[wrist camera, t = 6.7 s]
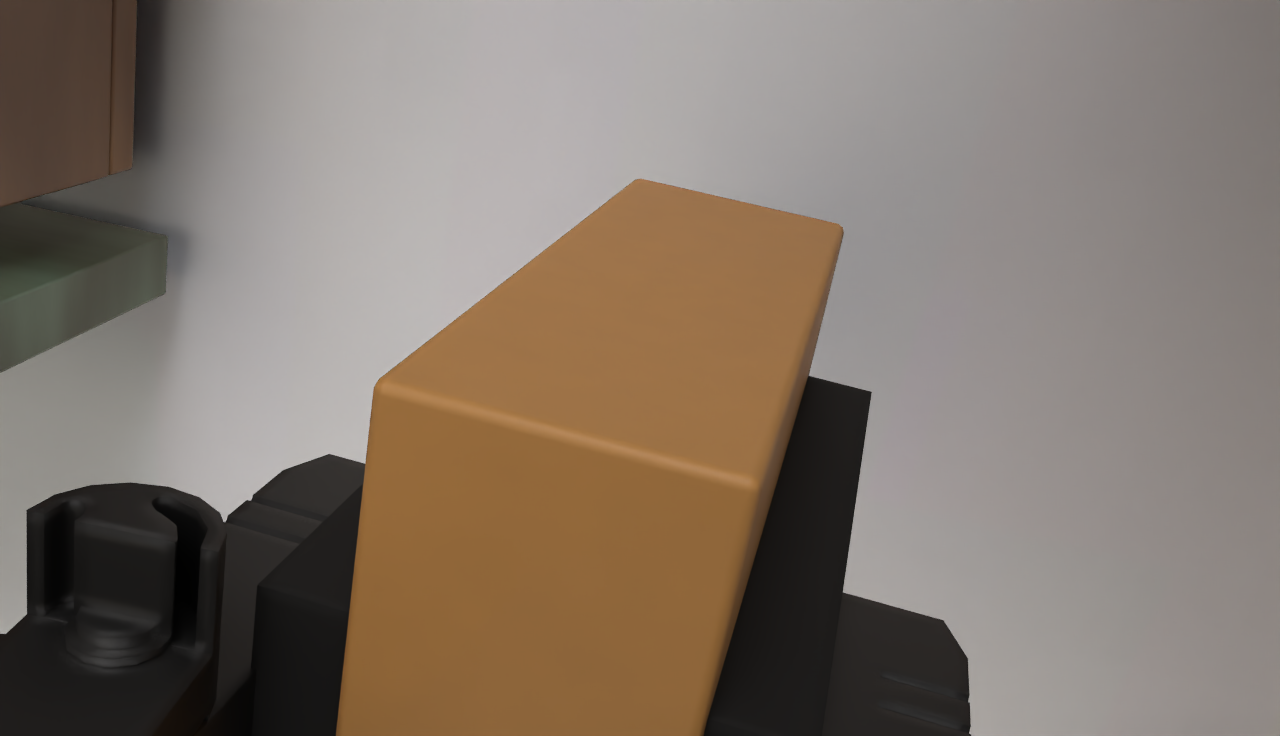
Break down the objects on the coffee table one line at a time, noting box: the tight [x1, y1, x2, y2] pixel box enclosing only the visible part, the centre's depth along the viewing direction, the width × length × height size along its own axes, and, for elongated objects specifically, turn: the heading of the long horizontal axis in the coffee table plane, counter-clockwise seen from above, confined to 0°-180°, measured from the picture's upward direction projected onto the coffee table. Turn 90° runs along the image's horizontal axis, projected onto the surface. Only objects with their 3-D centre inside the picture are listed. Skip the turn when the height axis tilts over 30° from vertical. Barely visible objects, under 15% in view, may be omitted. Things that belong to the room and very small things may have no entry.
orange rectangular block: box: [336, 179, 844, 736], centre depth 11 cm, size 2×6×7 cm, turn 169°
